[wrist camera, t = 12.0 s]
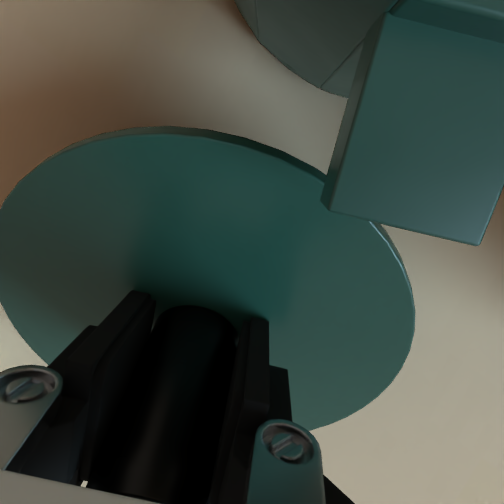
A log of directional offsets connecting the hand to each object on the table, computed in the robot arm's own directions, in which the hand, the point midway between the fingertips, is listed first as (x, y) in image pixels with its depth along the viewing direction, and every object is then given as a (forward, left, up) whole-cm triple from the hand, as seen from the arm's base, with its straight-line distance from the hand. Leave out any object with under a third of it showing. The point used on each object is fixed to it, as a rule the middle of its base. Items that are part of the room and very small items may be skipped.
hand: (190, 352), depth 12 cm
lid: (0, -1, -1) cm, 1 cm away
